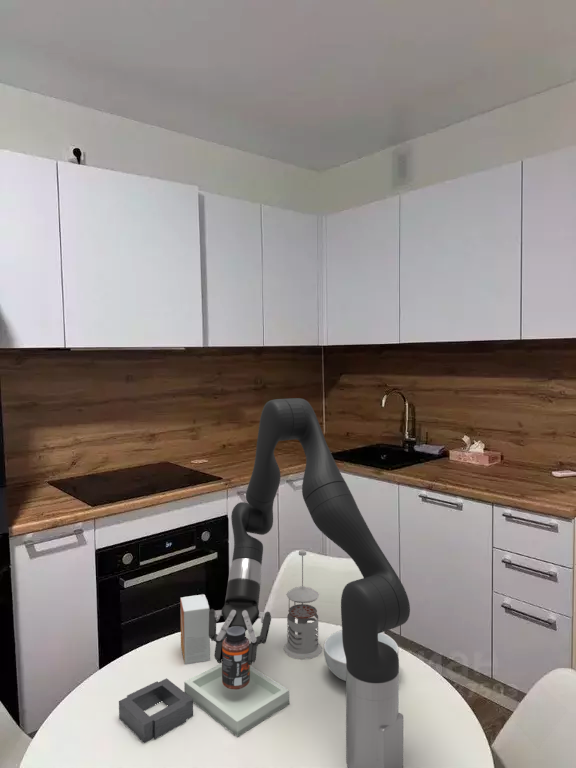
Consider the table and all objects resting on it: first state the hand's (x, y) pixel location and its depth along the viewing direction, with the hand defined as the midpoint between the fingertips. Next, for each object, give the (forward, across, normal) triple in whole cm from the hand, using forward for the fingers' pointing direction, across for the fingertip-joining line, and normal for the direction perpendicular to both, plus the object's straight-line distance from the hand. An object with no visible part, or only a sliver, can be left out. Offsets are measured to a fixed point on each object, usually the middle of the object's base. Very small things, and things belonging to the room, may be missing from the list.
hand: (234, 662), depth 111 cm
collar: (+10, -15, +2) cm, 18 cm away
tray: (+5, 0, +7) cm, 9 cm away
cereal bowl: (-3, +27, +16) cm, 31 cm away
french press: (-10, +12, +23) cm, 28 cm away
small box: (-6, -13, +19) cm, 24 cm away
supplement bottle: (+3, 0, +5) cm, 6 cm away
